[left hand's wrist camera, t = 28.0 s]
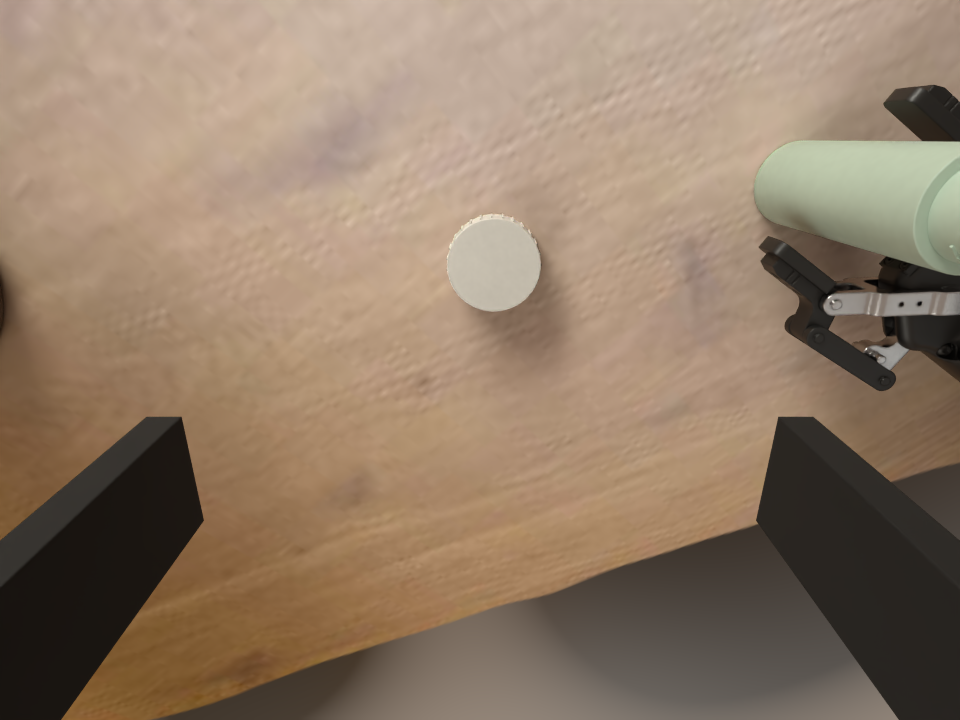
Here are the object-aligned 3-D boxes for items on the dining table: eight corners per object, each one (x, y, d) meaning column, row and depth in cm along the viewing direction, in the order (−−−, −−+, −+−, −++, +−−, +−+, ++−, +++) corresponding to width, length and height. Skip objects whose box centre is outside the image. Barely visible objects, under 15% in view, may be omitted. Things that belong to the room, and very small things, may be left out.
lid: (469, 197, 35) (468, 201, 32) (554, 235, 35) (558, 241, 33) (434, 281, 36) (431, 290, 34) (515, 316, 37) (517, 327, 35)
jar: (780, 127, 33) (1018, 119, 18) (852, 158, 34) (1141, 174, 19) (738, 208, 35) (925, 261, 20) (808, 236, 35) (1040, 307, 20)
